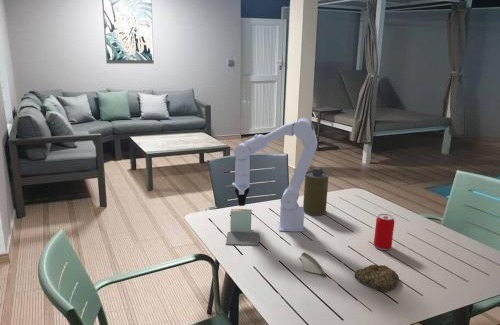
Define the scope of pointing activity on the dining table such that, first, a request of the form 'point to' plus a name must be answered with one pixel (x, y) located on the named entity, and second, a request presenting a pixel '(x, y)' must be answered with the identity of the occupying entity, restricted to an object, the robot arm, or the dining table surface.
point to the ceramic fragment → (311, 264)
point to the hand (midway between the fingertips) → (241, 205)
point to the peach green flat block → (240, 220)
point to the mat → (242, 238)
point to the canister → (315, 192)
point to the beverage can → (384, 231)
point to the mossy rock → (378, 277)
